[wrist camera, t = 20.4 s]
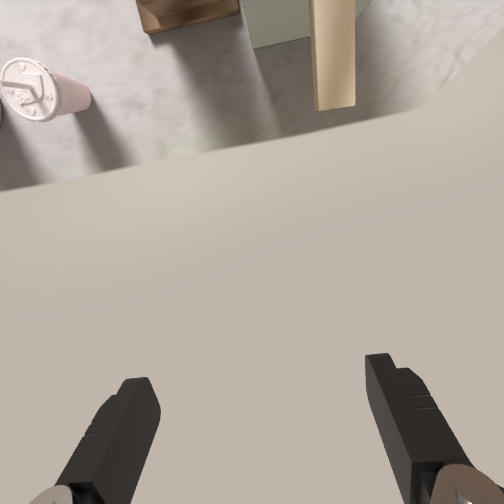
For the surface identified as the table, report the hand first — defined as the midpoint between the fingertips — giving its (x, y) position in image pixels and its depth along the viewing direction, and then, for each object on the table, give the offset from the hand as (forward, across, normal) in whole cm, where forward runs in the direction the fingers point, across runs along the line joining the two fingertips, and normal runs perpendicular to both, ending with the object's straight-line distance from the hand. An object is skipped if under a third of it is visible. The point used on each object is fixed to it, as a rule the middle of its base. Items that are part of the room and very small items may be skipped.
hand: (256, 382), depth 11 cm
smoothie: (+38, -24, +16) cm, 48 cm away
